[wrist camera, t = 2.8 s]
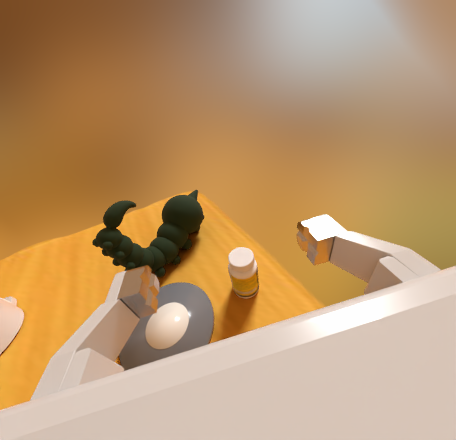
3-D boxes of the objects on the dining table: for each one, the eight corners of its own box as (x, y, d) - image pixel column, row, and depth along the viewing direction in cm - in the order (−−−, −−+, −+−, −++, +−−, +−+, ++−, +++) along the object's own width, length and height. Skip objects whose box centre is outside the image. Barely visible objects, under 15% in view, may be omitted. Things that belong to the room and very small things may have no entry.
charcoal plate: (108, 403, 23) (104, 402, 23) (132, 297, 35) (130, 294, 35) (221, 367, 24) (220, 365, 24) (208, 276, 36) (207, 273, 36)
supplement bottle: (263, 293, 32) (261, 262, 26) (238, 303, 31) (231, 273, 26) (252, 272, 35) (249, 241, 30) (229, 280, 35) (222, 250, 30)
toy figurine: (166, 301, 35) (219, 216, 51) (102, 236, 23) (200, 149, 38) (132, 287, 39) (192, 211, 55) (62, 225, 26) (166, 150, 42)
